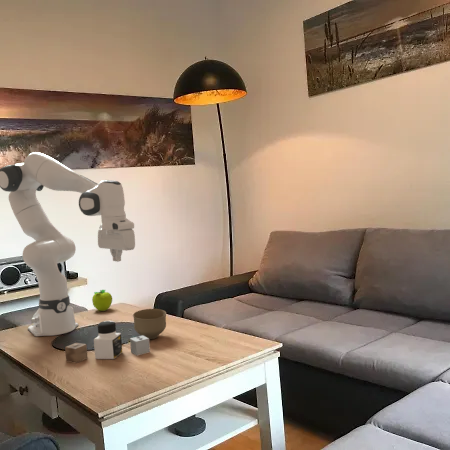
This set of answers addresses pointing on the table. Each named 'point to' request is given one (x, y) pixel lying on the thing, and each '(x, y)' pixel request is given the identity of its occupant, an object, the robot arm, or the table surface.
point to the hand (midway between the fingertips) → (117, 261)
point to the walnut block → (76, 352)
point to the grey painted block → (139, 345)
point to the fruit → (102, 300)
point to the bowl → (150, 322)
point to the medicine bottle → (107, 341)
